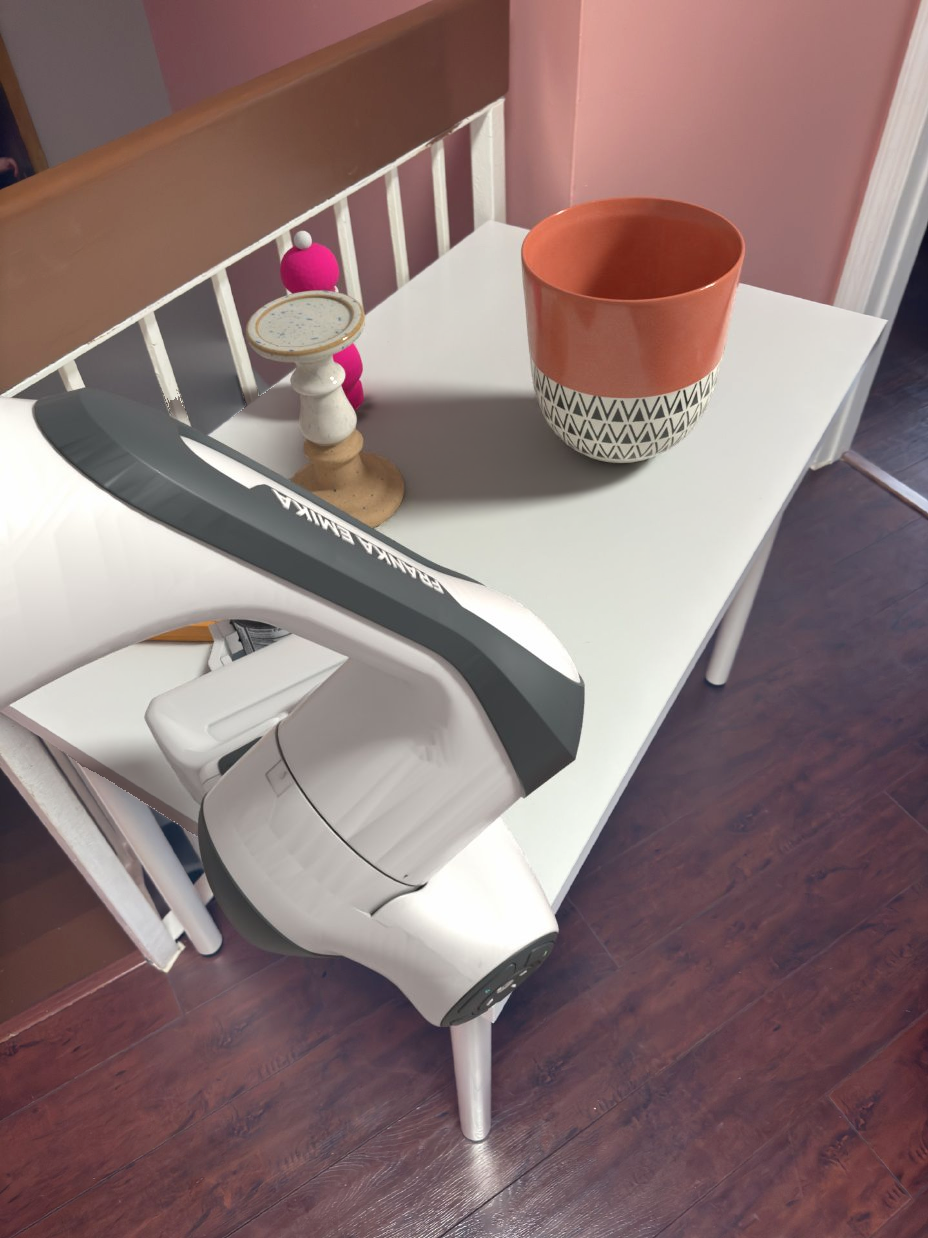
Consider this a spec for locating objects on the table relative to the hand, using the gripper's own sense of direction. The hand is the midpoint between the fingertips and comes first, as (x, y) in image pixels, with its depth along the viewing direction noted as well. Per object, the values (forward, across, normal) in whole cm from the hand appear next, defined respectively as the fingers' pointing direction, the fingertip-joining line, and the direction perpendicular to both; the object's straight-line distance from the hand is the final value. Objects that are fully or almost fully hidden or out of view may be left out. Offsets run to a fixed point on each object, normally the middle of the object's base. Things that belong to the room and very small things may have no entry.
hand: (271, 605), depth 61 cm
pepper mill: (+43, -22, +17) cm, 51 cm away
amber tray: (+24, +4, +17) cm, 30 cm away
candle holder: (+27, -15, +17) cm, 35 cm away
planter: (+18, -43, +17) cm, 49 cm away
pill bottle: (-1, 0, +6) cm, 6 cm away
